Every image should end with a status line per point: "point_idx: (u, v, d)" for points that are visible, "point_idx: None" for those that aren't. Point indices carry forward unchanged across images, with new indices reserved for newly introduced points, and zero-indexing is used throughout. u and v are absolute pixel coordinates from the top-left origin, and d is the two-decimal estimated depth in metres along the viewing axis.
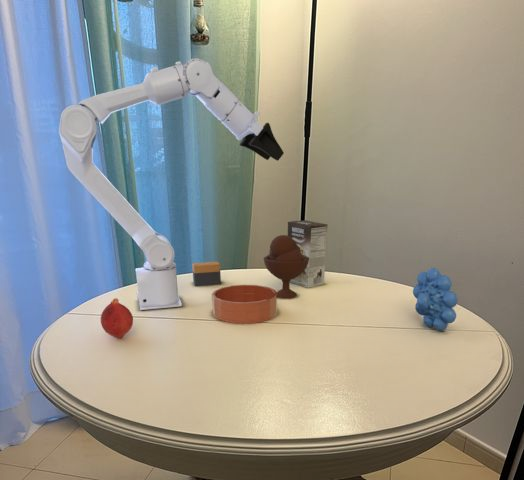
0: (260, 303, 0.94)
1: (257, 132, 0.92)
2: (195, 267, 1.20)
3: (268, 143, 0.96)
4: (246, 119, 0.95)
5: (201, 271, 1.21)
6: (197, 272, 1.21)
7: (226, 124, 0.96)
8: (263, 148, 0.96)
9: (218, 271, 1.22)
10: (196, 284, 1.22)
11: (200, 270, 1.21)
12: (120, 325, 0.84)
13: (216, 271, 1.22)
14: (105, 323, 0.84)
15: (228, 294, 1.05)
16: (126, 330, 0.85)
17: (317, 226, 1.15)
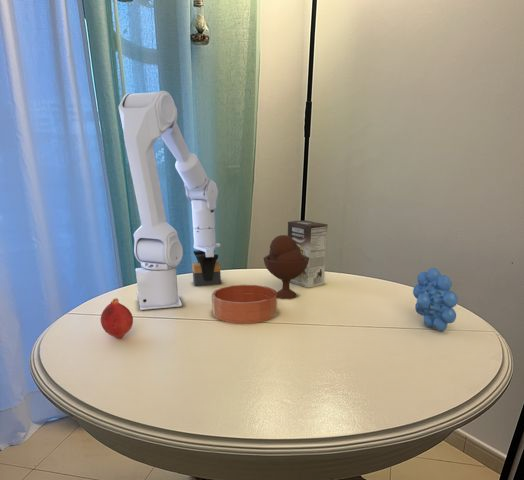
0: (260, 303, 0.94)
1: (207, 255, 1.14)
2: (195, 267, 1.20)
3: (207, 266, 1.20)
4: (209, 242, 1.17)
5: (201, 271, 1.21)
6: (197, 272, 1.21)
7: (194, 232, 1.17)
8: (202, 265, 1.19)
9: (218, 271, 1.22)
10: (196, 284, 1.22)
11: (200, 270, 1.21)
12: (120, 325, 0.84)
13: (216, 271, 1.22)
14: (105, 323, 0.84)
15: (228, 294, 1.05)
16: (126, 330, 0.85)
17: (317, 226, 1.15)
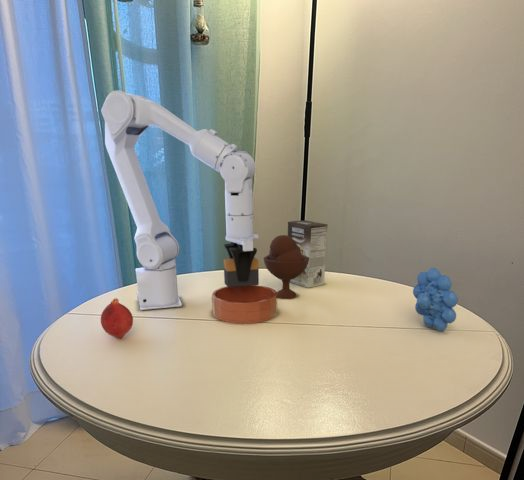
0: (260, 303, 0.94)
1: (245, 249, 0.91)
2: (228, 264, 0.96)
3: (243, 262, 0.96)
4: (245, 232, 0.94)
5: (235, 269, 0.97)
6: (230, 270, 0.97)
7: (227, 220, 0.94)
8: (237, 262, 0.95)
9: (256, 269, 0.99)
10: (229, 285, 0.98)
11: (234, 268, 0.97)
12: (120, 325, 0.84)
13: (253, 269, 0.99)
14: (105, 323, 0.84)
15: (228, 294, 1.05)
16: (126, 330, 0.85)
17: (317, 226, 1.15)
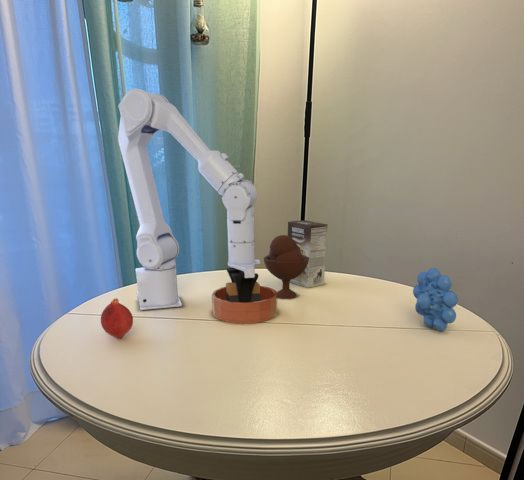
0: (260, 303, 0.94)
1: (247, 276, 0.93)
2: (230, 288, 0.99)
3: (245, 287, 0.99)
4: (247, 258, 0.96)
5: (237, 293, 0.99)
6: (232, 294, 0.99)
7: (229, 246, 0.96)
8: (238, 287, 0.97)
9: (257, 293, 1.01)
10: None
11: (236, 292, 0.99)
12: (120, 325, 0.84)
13: (255, 293, 1.01)
14: (105, 323, 0.84)
15: None
16: (126, 330, 0.85)
17: (317, 226, 1.15)
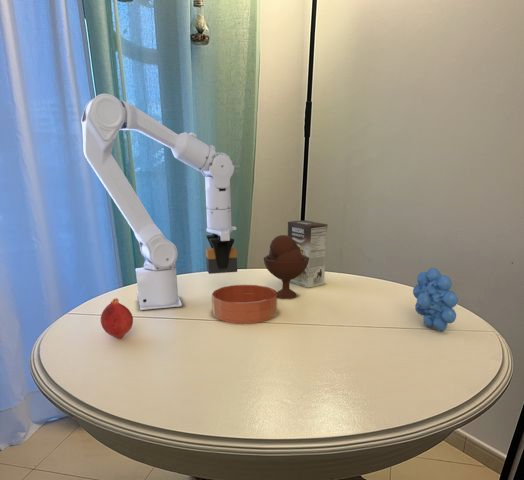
0: (260, 303, 0.94)
1: (222, 239, 1.01)
2: (209, 252, 1.07)
3: (222, 251, 1.07)
4: (224, 224, 1.05)
5: None
6: (211, 258, 1.08)
7: (207, 213, 1.05)
8: (216, 251, 1.06)
9: (234, 257, 1.09)
10: (210, 271, 1.09)
11: (215, 256, 1.08)
12: (120, 325, 0.84)
13: (232, 257, 1.09)
14: (105, 323, 0.84)
15: (228, 294, 1.05)
16: (126, 330, 0.85)
17: (317, 226, 1.15)
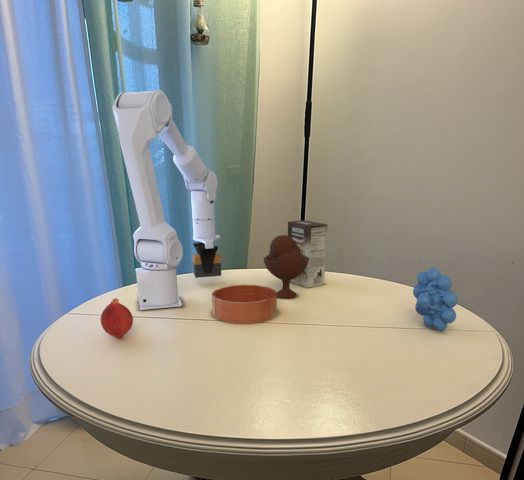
0: (260, 303, 0.94)
1: (207, 247, 1.13)
2: (195, 258, 1.19)
3: (207, 257, 1.19)
4: (208, 233, 1.16)
5: None
6: (197, 263, 1.20)
7: (193, 223, 1.16)
8: (201, 257, 1.18)
9: (219, 262, 1.21)
10: (196, 276, 1.21)
11: None
12: (120, 325, 0.84)
13: (216, 263, 1.21)
14: (105, 323, 0.84)
15: (228, 294, 1.05)
16: (126, 330, 0.85)
17: (317, 226, 1.15)
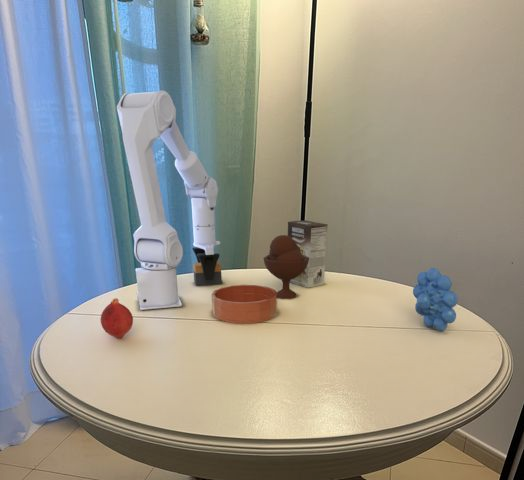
0: (260, 303, 0.94)
1: (207, 253, 1.14)
2: (196, 267, 1.20)
3: (209, 265, 1.18)
4: (208, 239, 1.17)
5: (202, 271, 1.21)
6: (198, 272, 1.21)
7: (194, 230, 1.17)
8: (203, 265, 1.17)
9: (219, 271, 1.22)
10: (197, 284, 1.22)
11: (201, 270, 1.21)
12: (120, 325, 0.84)
13: (217, 271, 1.22)
14: (105, 323, 0.84)
15: (228, 294, 1.05)
16: (126, 330, 0.85)
17: (317, 226, 1.15)
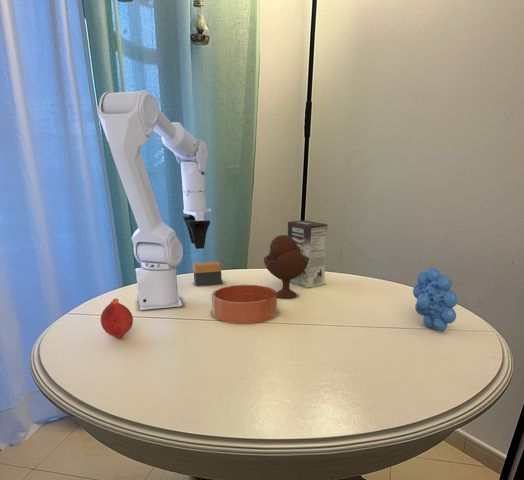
0: (260, 303, 0.94)
1: (197, 219, 1.10)
2: (196, 267, 1.20)
3: (199, 233, 1.14)
4: (199, 206, 1.13)
5: (202, 271, 1.21)
6: (198, 272, 1.21)
7: (184, 196, 1.13)
8: (193, 232, 1.13)
9: (219, 271, 1.22)
10: (197, 284, 1.22)
11: (201, 270, 1.21)
12: (120, 325, 0.84)
13: (217, 271, 1.22)
14: (105, 323, 0.84)
15: (228, 294, 1.05)
16: (126, 330, 0.85)
17: (317, 226, 1.15)
